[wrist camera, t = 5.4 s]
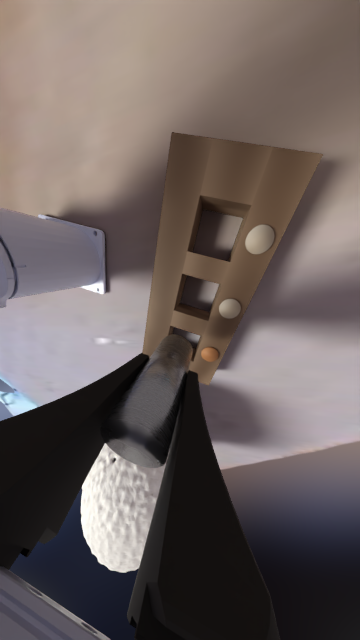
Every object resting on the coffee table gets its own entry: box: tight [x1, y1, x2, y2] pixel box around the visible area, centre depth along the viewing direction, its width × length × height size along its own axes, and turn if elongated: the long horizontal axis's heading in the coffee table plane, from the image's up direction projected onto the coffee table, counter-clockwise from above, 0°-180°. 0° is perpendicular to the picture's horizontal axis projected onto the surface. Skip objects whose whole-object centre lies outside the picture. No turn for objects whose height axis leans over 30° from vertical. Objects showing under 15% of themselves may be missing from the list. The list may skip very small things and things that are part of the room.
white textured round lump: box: [81, 443, 170, 573], centre depth 19 cm, size 20×18×16 cm
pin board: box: [142, 132, 323, 386], centre depth 15 cm, size 10×22×3 cm, turn 166°
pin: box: [100, 334, 193, 468], centre depth 8 cm, size 3×3×7 cm
